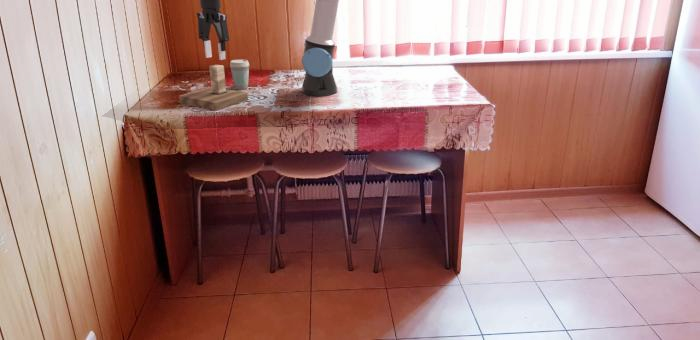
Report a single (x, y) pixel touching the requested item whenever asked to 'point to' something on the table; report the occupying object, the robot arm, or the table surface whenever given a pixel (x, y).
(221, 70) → the peg
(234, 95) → the board
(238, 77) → the coffee cup
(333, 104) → the table surface
